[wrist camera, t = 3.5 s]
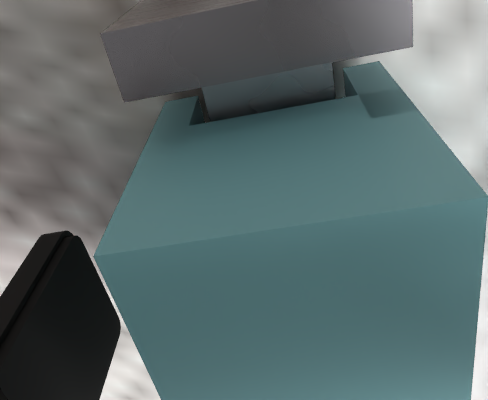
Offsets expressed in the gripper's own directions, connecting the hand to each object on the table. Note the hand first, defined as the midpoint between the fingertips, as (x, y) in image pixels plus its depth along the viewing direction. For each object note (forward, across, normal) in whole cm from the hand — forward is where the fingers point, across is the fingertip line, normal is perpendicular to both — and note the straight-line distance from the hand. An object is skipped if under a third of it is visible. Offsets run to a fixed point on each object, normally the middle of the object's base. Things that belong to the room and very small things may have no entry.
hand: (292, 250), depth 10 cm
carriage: (+3, 0, 0) cm, 3 cm away
